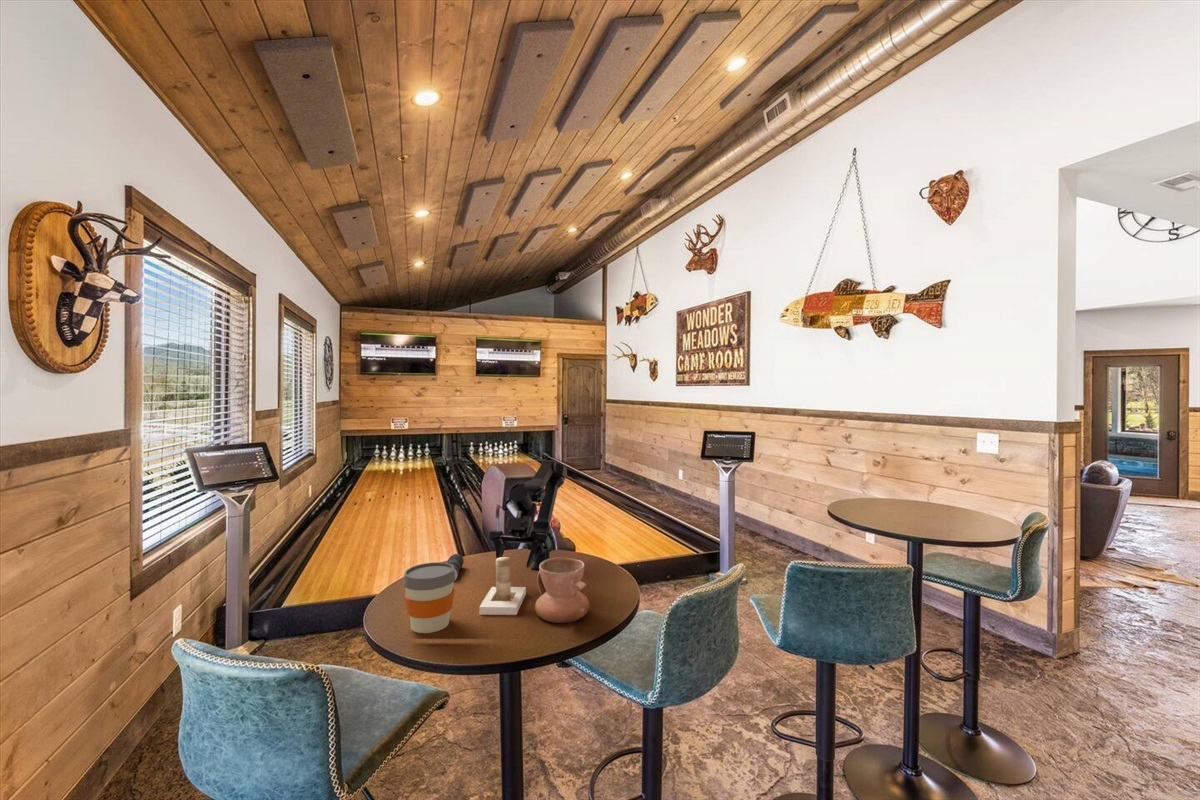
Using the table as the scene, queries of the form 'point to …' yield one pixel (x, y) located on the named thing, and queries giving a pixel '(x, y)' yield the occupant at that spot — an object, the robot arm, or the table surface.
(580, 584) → the ceramic jug
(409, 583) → the reusable coffee cup
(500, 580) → the cream ridged cylinder
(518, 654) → the table surface
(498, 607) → the frame
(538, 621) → the table surface
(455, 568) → the grey shaker
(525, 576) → the table surface
